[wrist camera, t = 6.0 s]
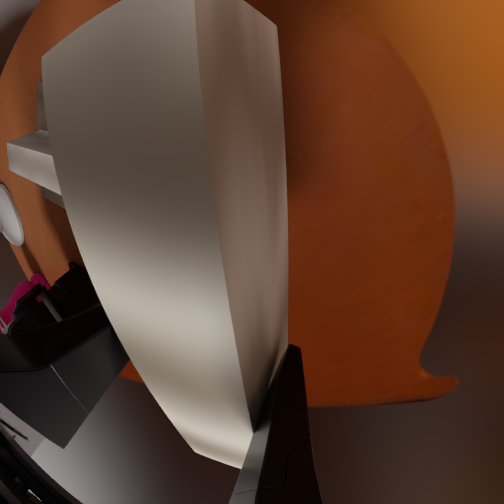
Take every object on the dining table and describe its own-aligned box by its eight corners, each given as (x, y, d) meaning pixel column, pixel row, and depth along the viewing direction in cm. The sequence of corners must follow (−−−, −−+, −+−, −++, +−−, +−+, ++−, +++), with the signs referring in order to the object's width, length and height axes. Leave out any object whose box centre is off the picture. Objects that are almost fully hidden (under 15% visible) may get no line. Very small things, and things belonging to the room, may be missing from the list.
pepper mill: (47, 298, 45) (-14, 357, 29) (31, 269, 42) (-35, 327, 26) (60, 303, 42) (-7, 369, 27) (42, 270, 39) (-31, 336, 23)
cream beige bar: (284, 418, 14) (261, 475, 11) (222, 401, 16) (195, 452, 12) (276, 25, 5) (192, -32, 2) (151, 53, 7) (41, 57, 3)
